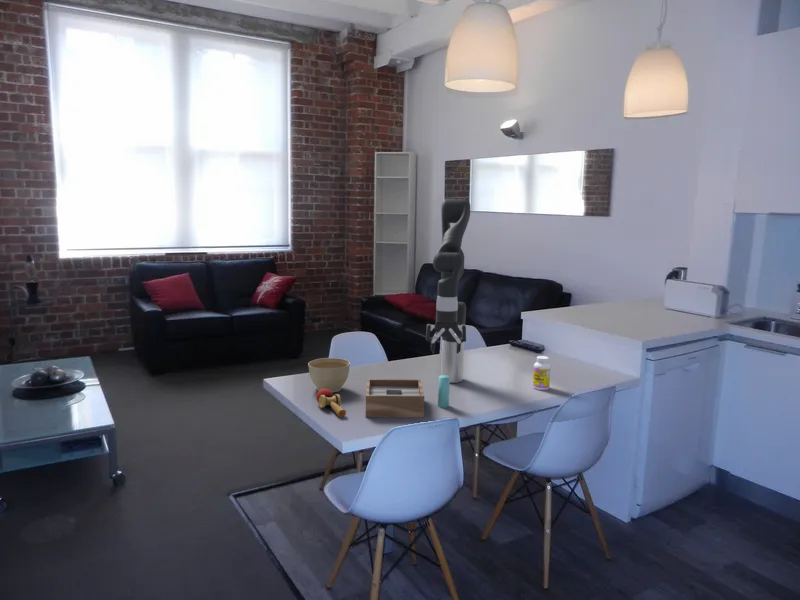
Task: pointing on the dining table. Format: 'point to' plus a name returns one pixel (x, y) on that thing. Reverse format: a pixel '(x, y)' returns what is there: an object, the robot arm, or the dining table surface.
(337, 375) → the planter bowl
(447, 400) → the peg
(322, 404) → the kendama
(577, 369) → the dining table surface
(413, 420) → the dining table surface
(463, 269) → the robot arm
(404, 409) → the bore box
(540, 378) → the supplement bottle
